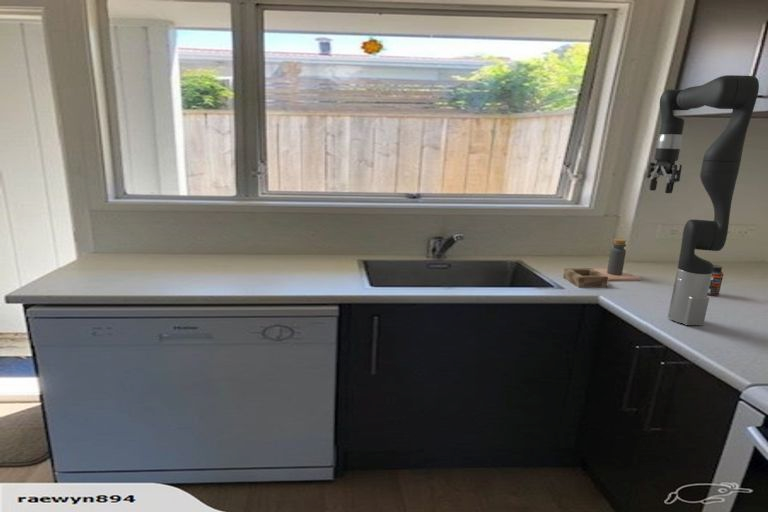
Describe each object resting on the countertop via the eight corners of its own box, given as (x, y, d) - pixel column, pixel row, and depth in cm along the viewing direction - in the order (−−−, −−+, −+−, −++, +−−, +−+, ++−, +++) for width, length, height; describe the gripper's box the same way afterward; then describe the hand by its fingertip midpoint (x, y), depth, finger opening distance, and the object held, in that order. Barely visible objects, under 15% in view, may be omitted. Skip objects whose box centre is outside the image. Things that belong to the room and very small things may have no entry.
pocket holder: (606, 286, 181) (608, 277, 180) (578, 287, 180) (579, 277, 179) (590, 277, 193) (591, 268, 191) (563, 277, 191) (564, 268, 190)
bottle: (606, 274, 194) (612, 239, 190) (607, 270, 199) (612, 237, 195) (621, 276, 192) (627, 241, 188) (622, 272, 197) (627, 239, 193)
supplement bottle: (710, 297, 172) (716, 268, 169) (696, 291, 178) (702, 264, 175) (722, 296, 174) (729, 267, 171) (708, 290, 179) (714, 263, 176)
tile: (639, 280, 190) (640, 278, 190) (608, 280, 188) (608, 278, 188) (619, 270, 203) (619, 268, 203) (589, 270, 202) (590, 268, 201)
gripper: (692, 148, 160) (683, 194, 164) (664, 146, 174) (656, 189, 178) (672, 147, 159) (664, 194, 163) (645, 146, 173) (638, 189, 177)
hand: (660, 191), depth 171 cm, fingers open, 8 cm apart
